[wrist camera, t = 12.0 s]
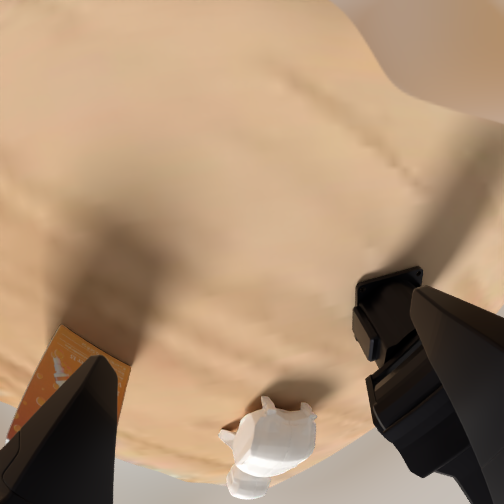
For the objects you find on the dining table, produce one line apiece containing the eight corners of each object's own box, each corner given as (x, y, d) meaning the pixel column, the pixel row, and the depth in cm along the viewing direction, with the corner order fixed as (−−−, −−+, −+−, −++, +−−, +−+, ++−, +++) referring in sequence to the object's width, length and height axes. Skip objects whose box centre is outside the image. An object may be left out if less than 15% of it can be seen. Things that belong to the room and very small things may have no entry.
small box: (133, 365, 25) (108, 489, 14) (109, 392, 27) (86, 497, 16) (60, 320, 22) (4, 438, 11) (45, 354, 24) (2, 455, 13)
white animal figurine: (243, 378, 32) (202, 463, 32) (264, 422, 23) (212, 510, 24) (306, 390, 34) (260, 470, 34) (337, 429, 26) (278, 511, 26)
